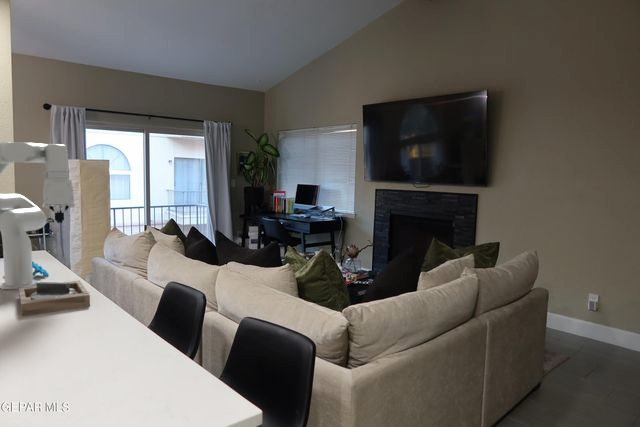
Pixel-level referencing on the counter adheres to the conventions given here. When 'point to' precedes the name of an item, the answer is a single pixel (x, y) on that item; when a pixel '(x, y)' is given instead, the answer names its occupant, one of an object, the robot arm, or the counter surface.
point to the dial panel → (53, 300)
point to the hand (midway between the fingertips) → (59, 222)
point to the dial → (51, 290)
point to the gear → (39, 269)
